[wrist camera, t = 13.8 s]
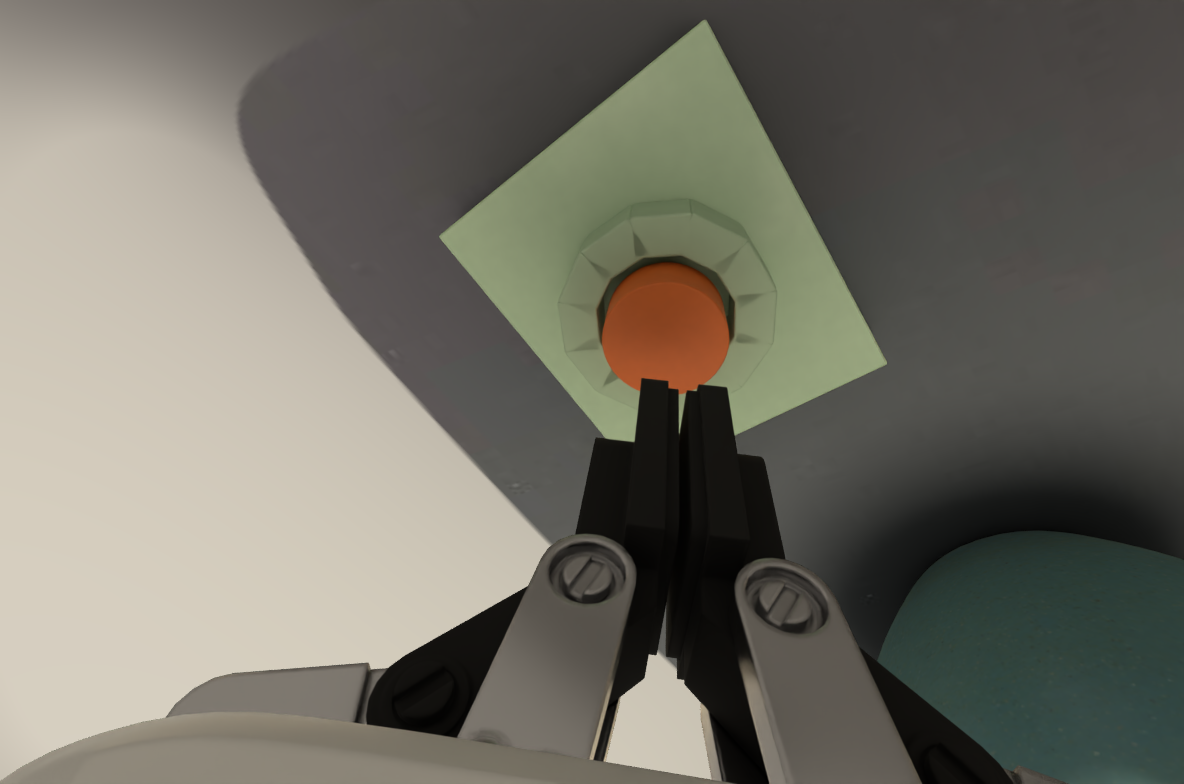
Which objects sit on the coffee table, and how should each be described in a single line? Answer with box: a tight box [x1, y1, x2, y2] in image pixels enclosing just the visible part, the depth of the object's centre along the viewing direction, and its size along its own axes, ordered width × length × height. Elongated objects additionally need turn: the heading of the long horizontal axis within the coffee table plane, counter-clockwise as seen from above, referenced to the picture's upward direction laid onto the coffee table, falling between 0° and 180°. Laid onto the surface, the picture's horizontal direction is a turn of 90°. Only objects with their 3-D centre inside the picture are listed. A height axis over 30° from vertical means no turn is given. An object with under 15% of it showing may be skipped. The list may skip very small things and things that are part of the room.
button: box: [602, 262, 729, 394], centre depth 16 cm, size 4×4×2 cm
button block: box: [439, 20, 887, 442], centre depth 18 cm, size 12×10×4 cm
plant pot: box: [877, 531, 1184, 784], centre depth 21 cm, size 18×18×12 cm
